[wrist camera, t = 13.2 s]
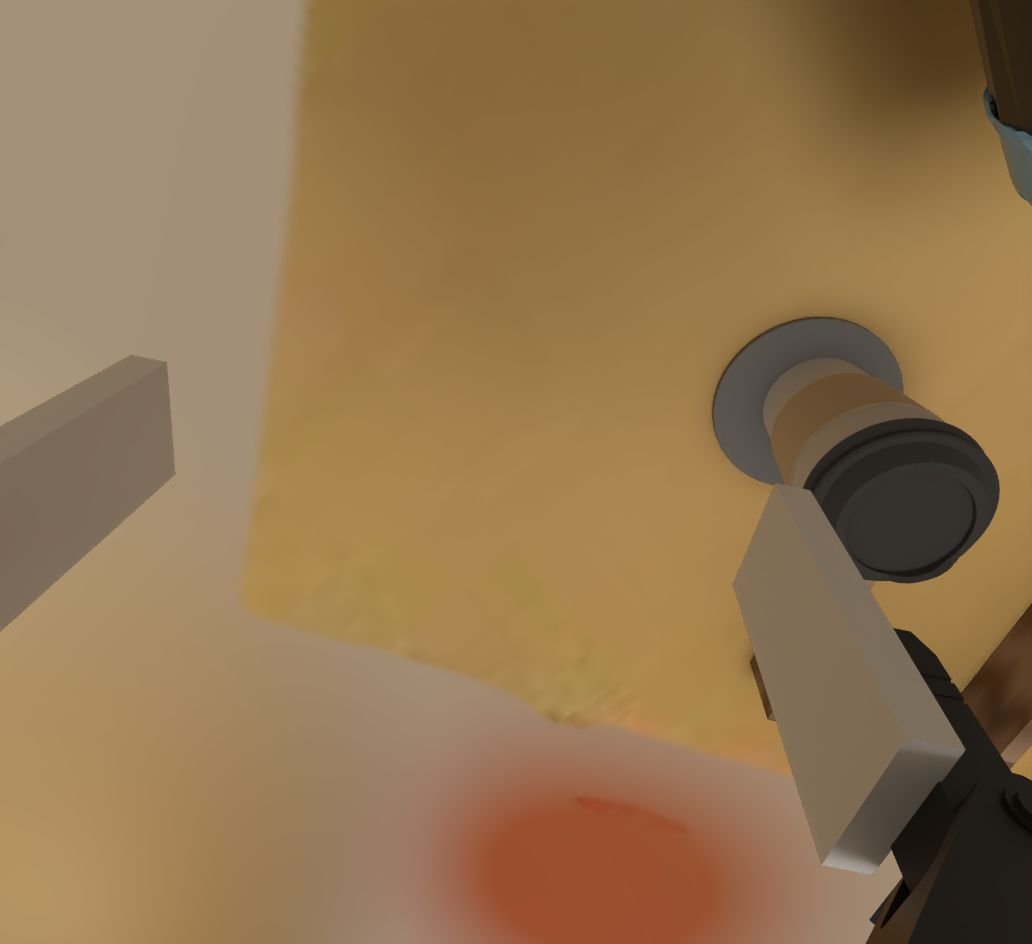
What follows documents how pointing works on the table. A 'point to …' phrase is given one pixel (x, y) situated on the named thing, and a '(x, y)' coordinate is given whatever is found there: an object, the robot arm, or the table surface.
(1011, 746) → the brown rectangular open frame
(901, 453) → the coffee cup
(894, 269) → the table surface
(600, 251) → the table surface
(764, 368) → the coaster
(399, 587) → the table surface
